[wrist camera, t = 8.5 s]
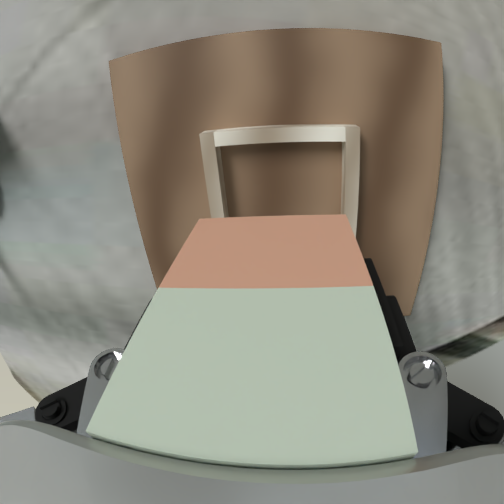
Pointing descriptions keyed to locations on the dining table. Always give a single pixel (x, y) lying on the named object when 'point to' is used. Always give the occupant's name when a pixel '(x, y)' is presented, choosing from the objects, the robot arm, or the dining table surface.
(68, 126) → the dining table surface
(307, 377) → the stack block
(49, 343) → the dining table surface
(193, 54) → the walnut board
